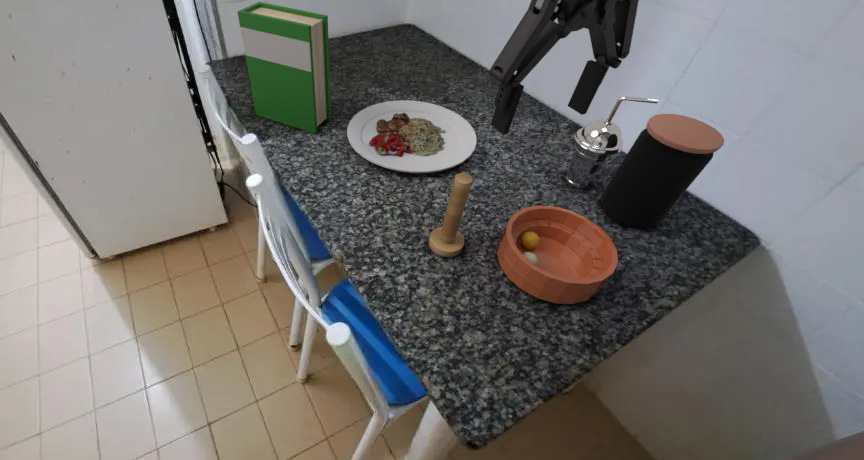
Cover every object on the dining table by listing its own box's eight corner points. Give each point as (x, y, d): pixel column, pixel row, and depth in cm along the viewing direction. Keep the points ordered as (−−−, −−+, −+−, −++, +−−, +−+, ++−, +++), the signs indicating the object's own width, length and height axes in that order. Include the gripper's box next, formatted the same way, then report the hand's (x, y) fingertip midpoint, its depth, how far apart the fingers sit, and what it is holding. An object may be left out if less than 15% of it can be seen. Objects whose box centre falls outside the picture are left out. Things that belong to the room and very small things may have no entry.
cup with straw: (573, 164, 86) (619, 76, 72) (609, 187, 81) (667, 97, 66) (546, 176, 83) (588, 86, 69) (582, 201, 78) (635, 109, 63)
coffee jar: (667, 234, 72) (738, 152, 59) (606, 227, 73) (663, 145, 60) (646, 196, 79) (706, 116, 66) (591, 190, 80) (639, 110, 67)
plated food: (488, 125, 97) (492, 112, 95) (452, 195, 78) (455, 182, 76) (378, 97, 106) (379, 85, 104) (323, 154, 88) (323, 141, 85)
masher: (459, 261, 67) (481, 195, 56) (424, 251, 68) (439, 185, 57) (465, 237, 71) (487, 171, 60) (432, 228, 72) (448, 162, 61)
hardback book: (331, 119, 98) (327, 15, 81) (315, 133, 93) (308, 26, 76) (273, 102, 104) (259, 1, 86) (256, 114, 99) (237, 11, 82)
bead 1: (535, 254, 67) (542, 243, 65) (517, 249, 68) (523, 238, 66) (537, 242, 69) (543, 231, 67) (519, 237, 70) (525, 226, 68)
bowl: (601, 320, 59) (621, 298, 55) (490, 286, 63) (500, 263, 59) (597, 244, 70) (614, 220, 65) (502, 219, 74) (512, 195, 69)
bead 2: (533, 276, 64) (540, 264, 62) (515, 270, 65) (520, 259, 62) (535, 263, 66) (541, 251, 64) (516, 257, 67) (522, 246, 64)
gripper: (669, -86, 44) (586, 91, 60) (489, -73, 37) (447, 123, 53) (736, -75, 40) (627, 114, 55) (544, -57, 33) (480, 153, 48)
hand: (539, 119), depth 54 cm, fingers open, 13 cm apart
